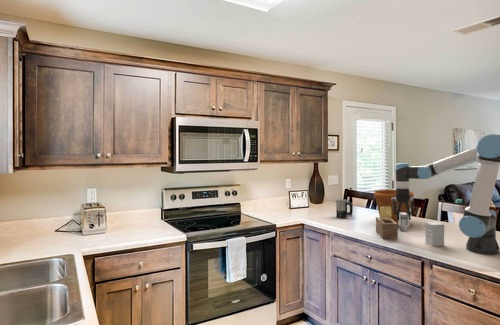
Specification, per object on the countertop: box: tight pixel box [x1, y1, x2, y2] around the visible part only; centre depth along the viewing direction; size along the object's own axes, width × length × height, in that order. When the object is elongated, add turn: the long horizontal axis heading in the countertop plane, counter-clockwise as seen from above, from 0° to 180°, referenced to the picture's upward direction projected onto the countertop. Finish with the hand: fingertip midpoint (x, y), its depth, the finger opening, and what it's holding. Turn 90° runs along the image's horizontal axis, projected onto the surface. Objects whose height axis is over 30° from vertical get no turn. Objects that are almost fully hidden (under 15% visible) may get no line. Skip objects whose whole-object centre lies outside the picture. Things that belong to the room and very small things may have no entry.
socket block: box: [375, 216, 399, 240], centre depth 214 cm, size 19×9×10 cm, turn 171°
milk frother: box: [335, 199, 354, 219], centre depth 274 cm, size 14×16×15 cm
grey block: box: [399, 212, 409, 233], centre depth 198 cm, size 7×4×11 cm, turn 171°
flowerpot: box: [373, 189, 414, 224], centre depth 250 cm, size 28×28×24 cm
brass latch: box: [379, 207, 391, 220], centre depth 215 cm, size 1×7×8 cm, turn 80°
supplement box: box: [424, 221, 445, 247], centre depth 191 cm, size 7×7×13 cm
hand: (403, 225), depth 199 cm, fingers closed on grey block, 4 cm apart
